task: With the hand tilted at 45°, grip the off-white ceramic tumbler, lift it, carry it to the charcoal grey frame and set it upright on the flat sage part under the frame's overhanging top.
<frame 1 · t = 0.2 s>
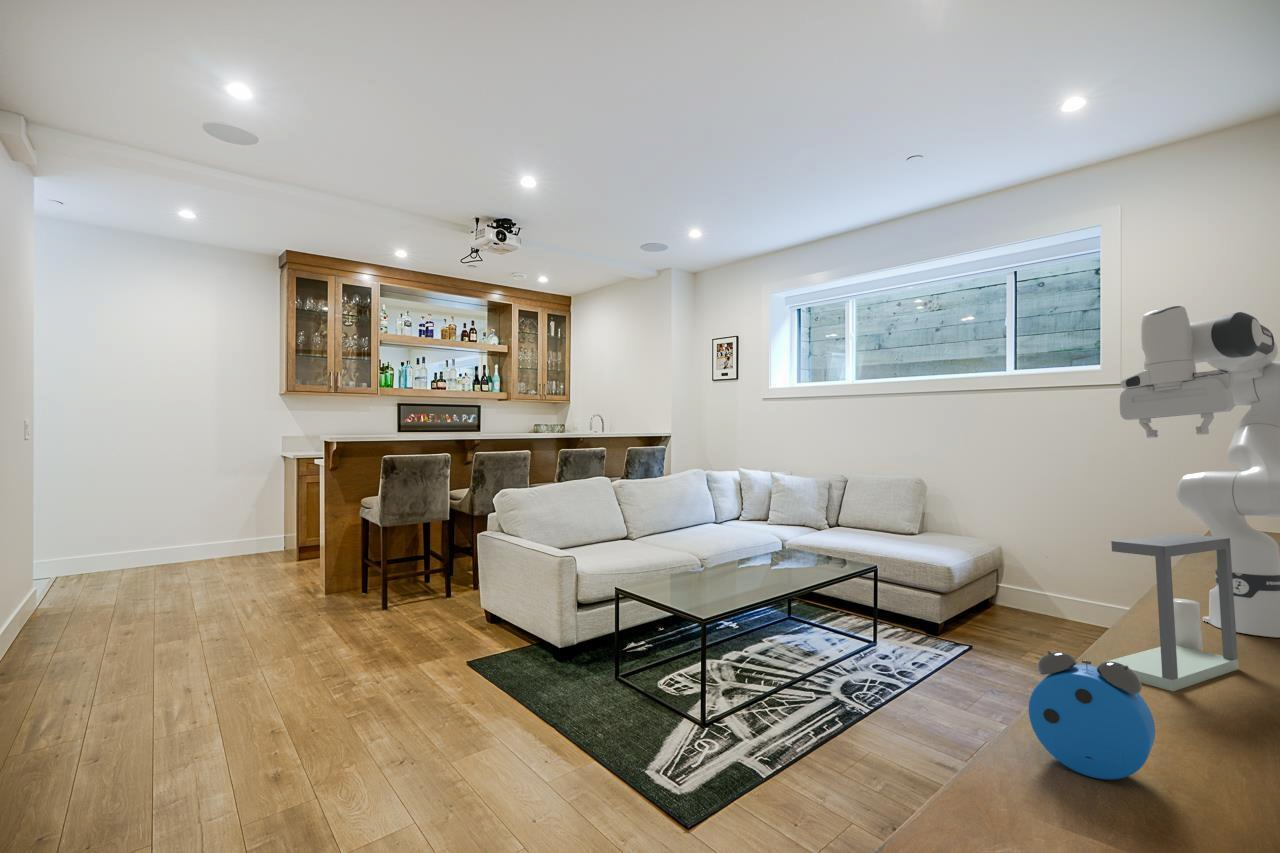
hand: (1176, 436, 136), 47 cm above the table, tool pointing down, fingers open, 8 cm apart
alarm clock: (1092, 772, 80), on the table
tumbler: (1185, 652, 130), on the table
grey frame: (1171, 670, 118), on the table
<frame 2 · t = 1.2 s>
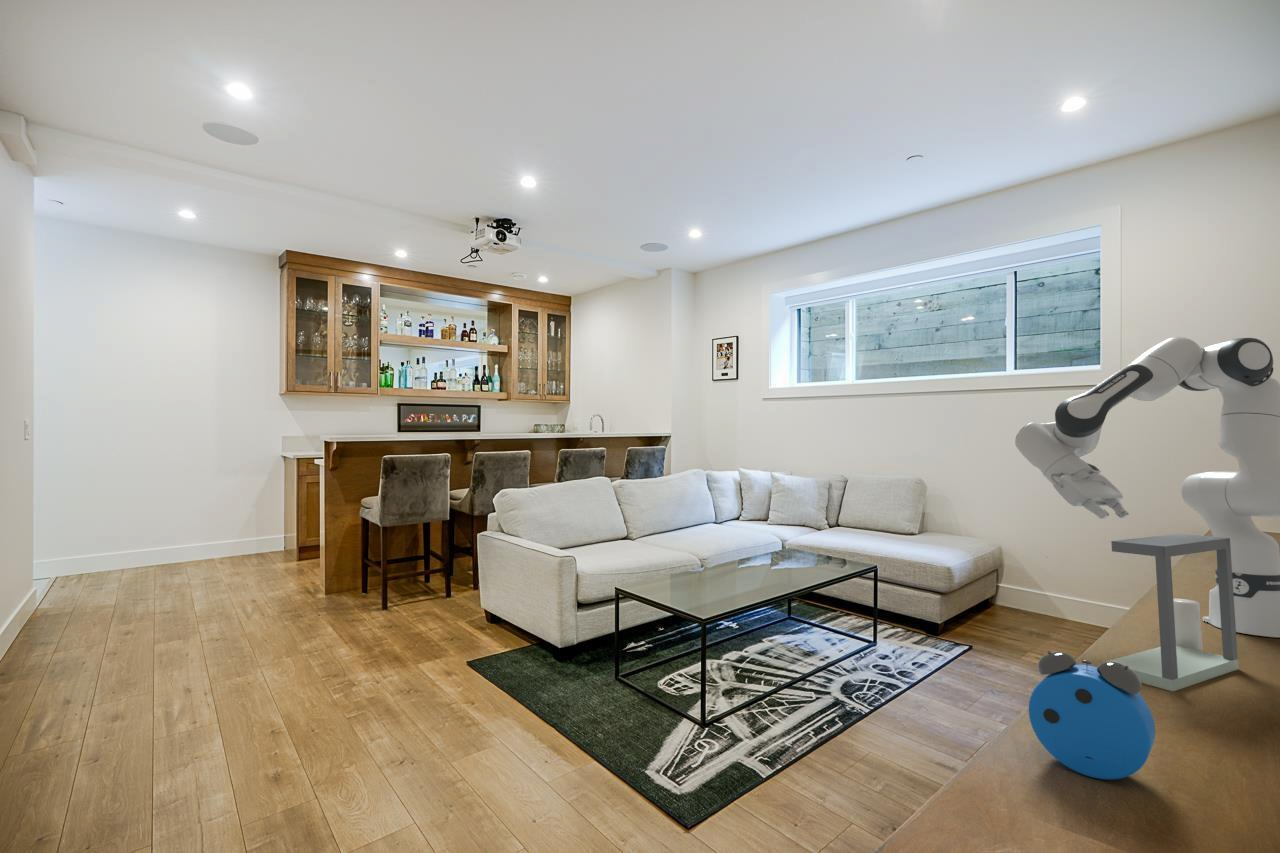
hand: (1115, 516, 142), 28 cm above the table, tool tilted 45°, fingers open, 8 cm apart
nothing on the table moved.
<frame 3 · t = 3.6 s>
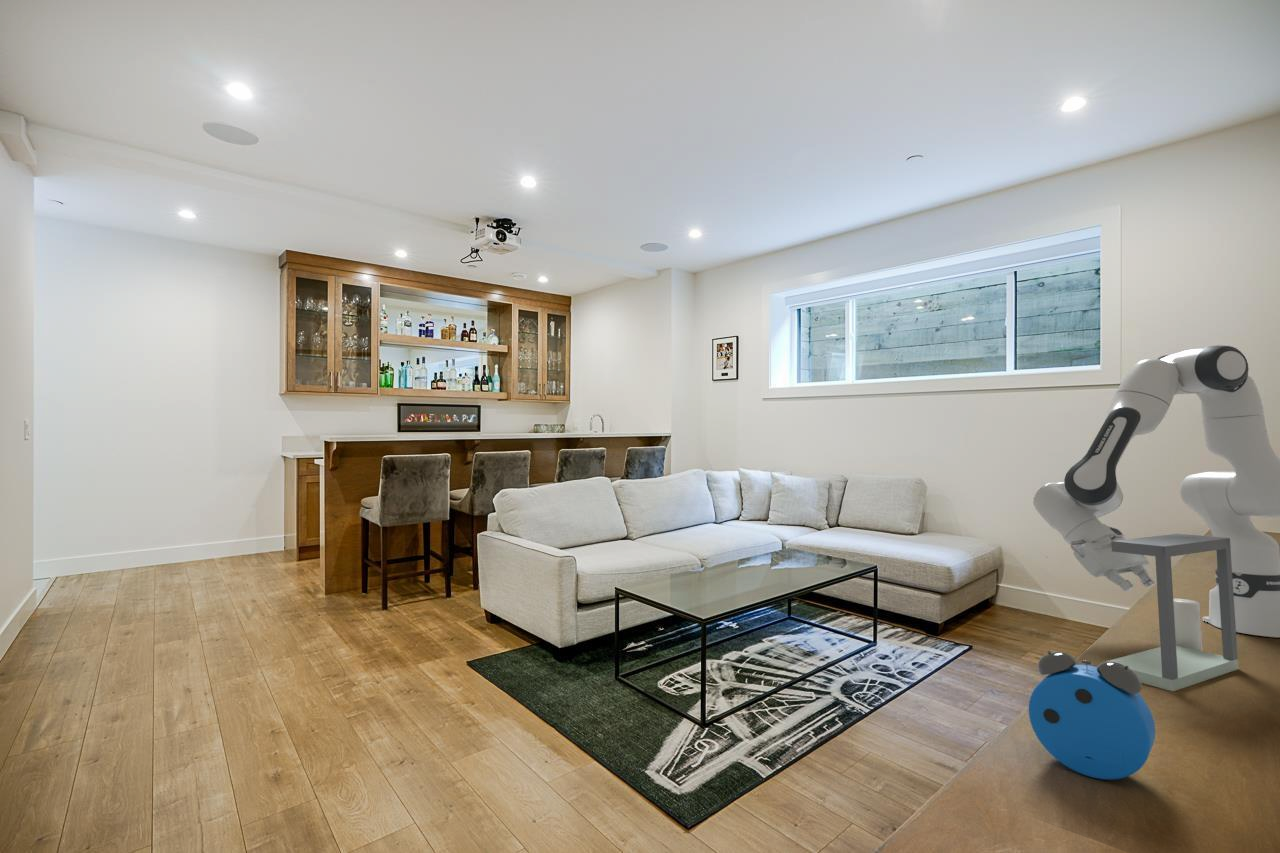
hand: (1140, 587, 137), 13 cm above the table, tool tilted 45°, fingers open, 8 cm apart
nothing on the table moved.
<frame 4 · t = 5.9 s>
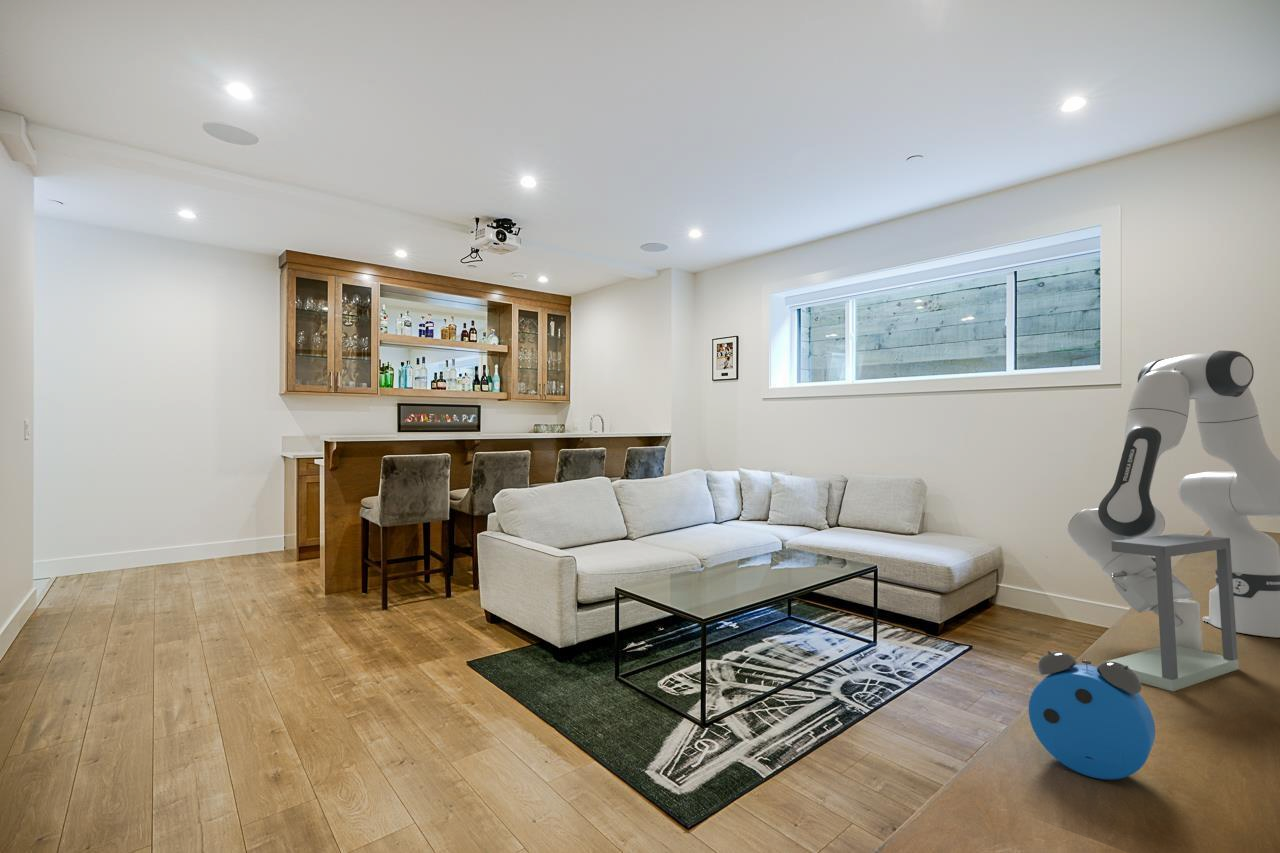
hand: (1187, 623, 130), 6 cm above the table, tool tilted 45°, fingers closed on tumbler, 5 cm apart
tumbler: (1185, 652, 130), on the table, touching gripper
everything else where it was.
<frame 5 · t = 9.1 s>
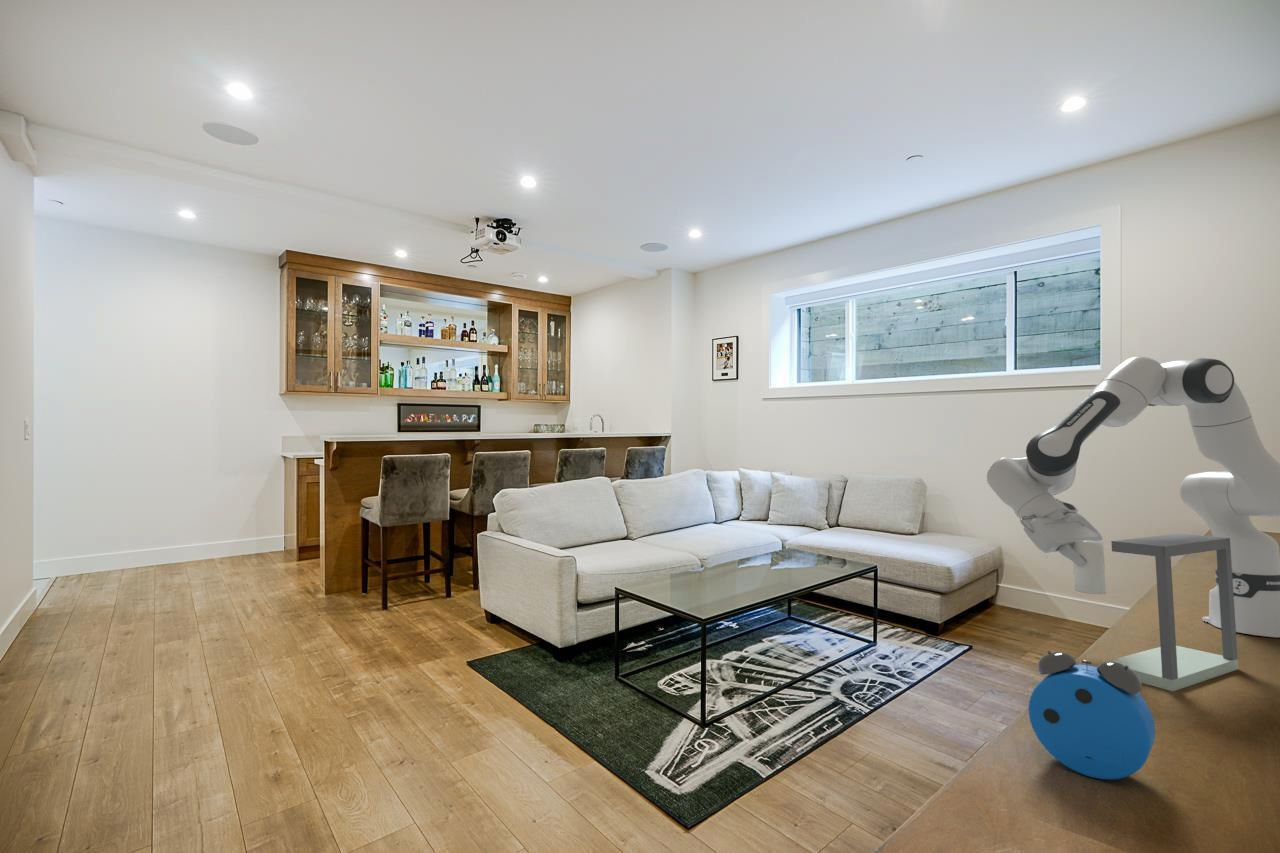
hand: (1092, 562, 131), 19 cm above the table, tool tilted 45°, fingers closed on tumbler, 5 cm apart
tumbler: (1090, 591, 132), point 13 cm above the table, touching gripper
everything else where it was.
when the fingers open (9 cm above the table, at t = 12.5 s): tumbler stays where it is, resting on grey frame.
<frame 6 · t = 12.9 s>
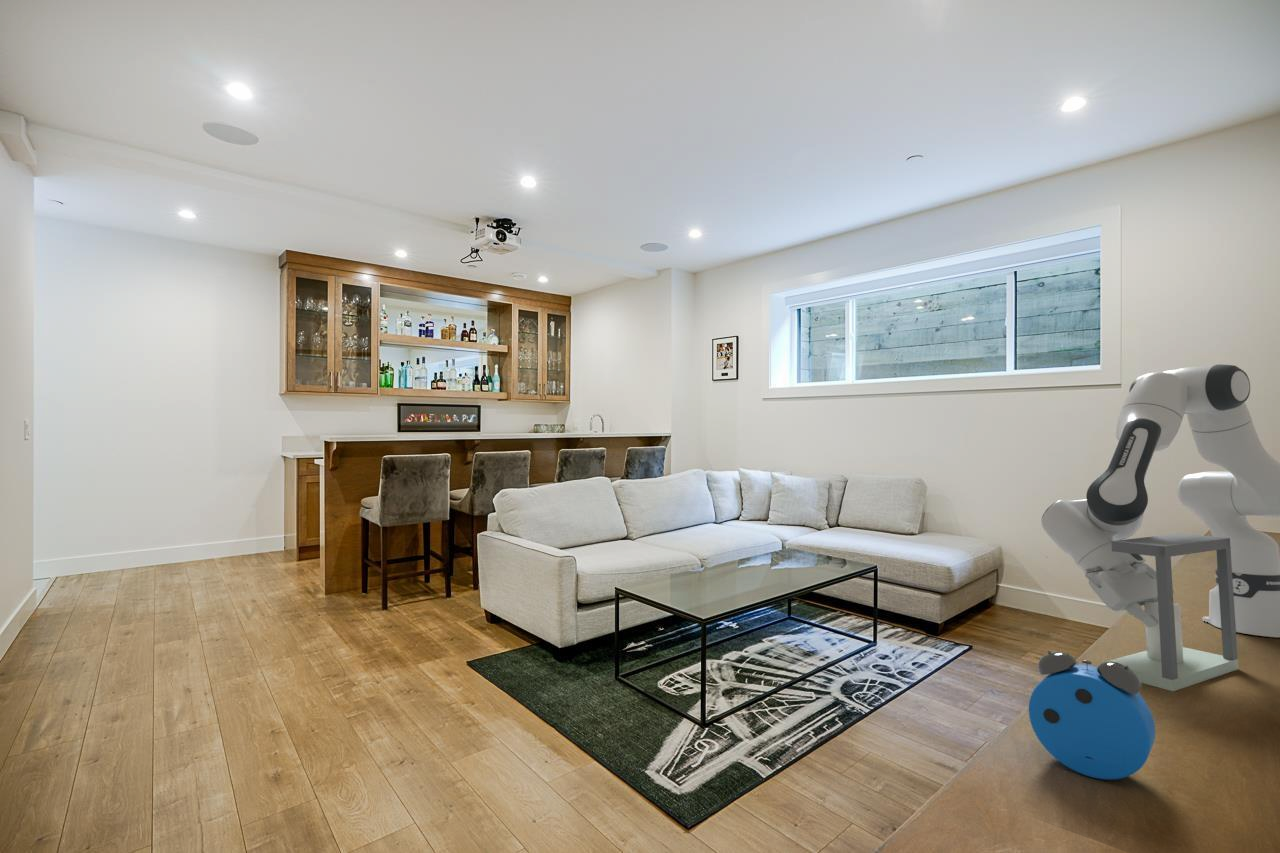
hand: (1166, 622, 119), 9 cm above the table, tool tilted 45°, fingers open, 8 cm apart
tumbler: (1165, 658, 119), point 2 cm above the table, touching grey frame
everything else where it was.
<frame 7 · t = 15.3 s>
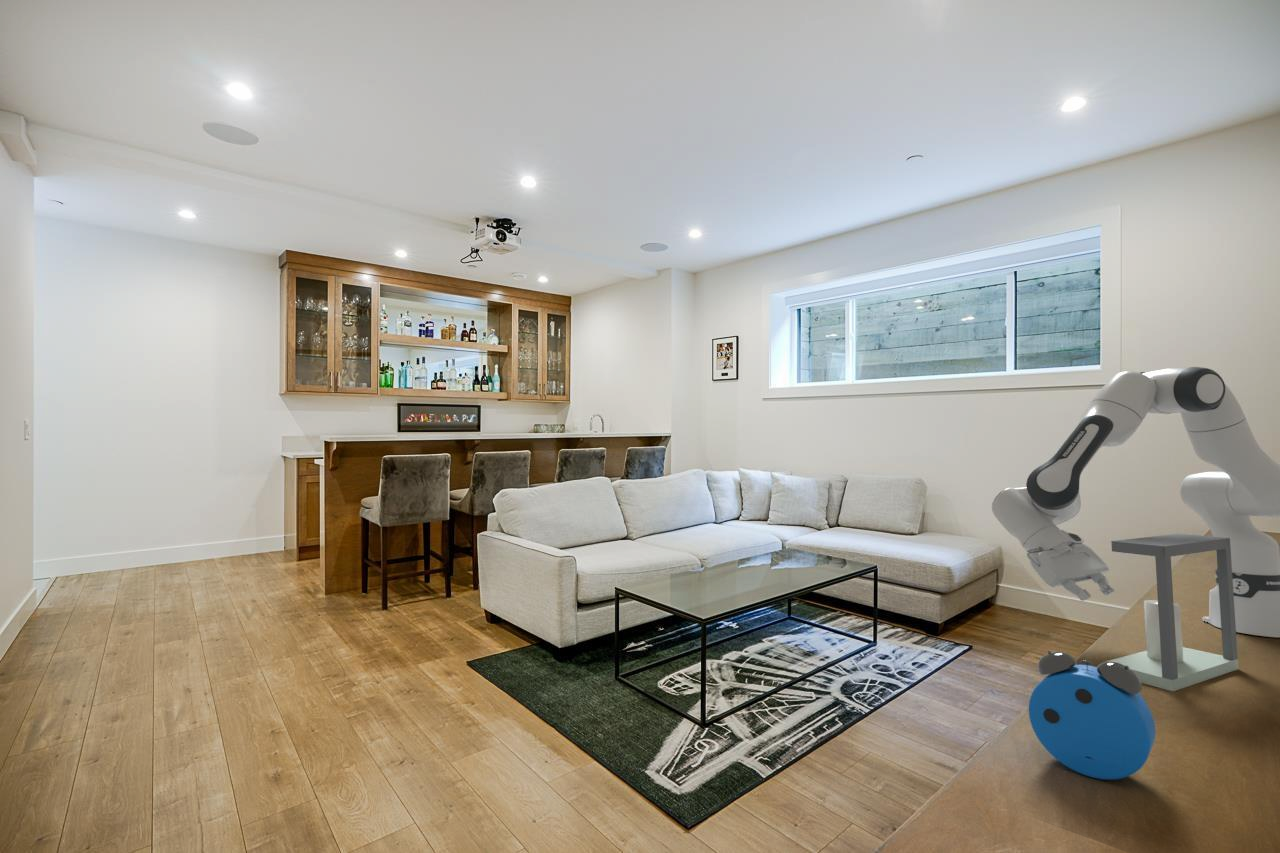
hand: (1099, 596, 132), 12 cm above the table, tool tilted 45°, fingers open, 8 cm apart
nothing on the table moved.
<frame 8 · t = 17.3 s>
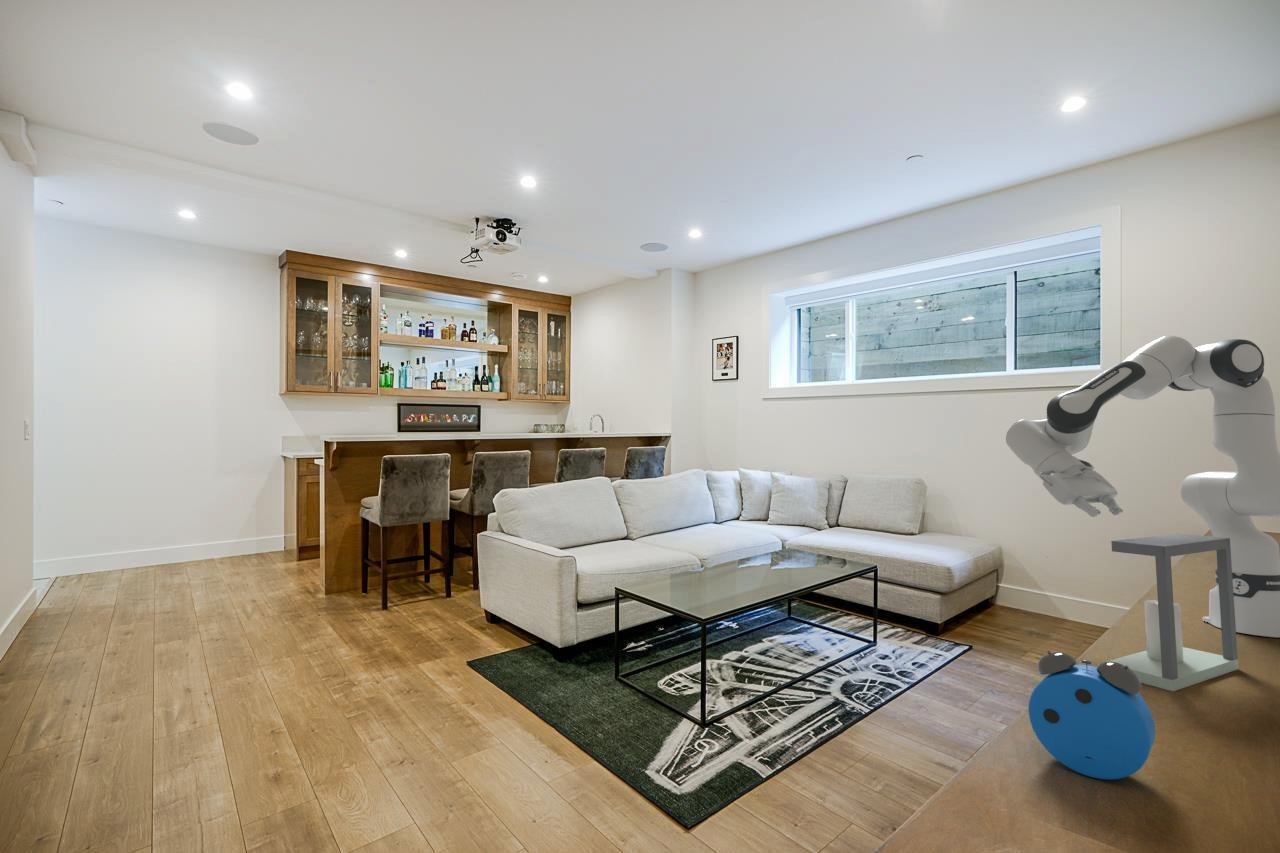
hand: (1108, 514, 138), 29 cm above the table, tool tilted 45°, fingers open, 8 cm apart
nothing on the table moved.
at the end: tumbler inside the target area on the grey frame (1.0 cm from its centre), point 2.0 cm above the grey frame's base; tumbler tilted 0°; the gripper is holding nothing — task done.
